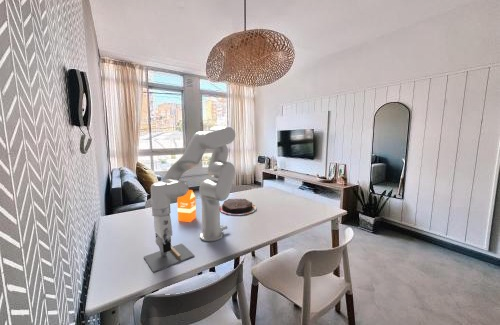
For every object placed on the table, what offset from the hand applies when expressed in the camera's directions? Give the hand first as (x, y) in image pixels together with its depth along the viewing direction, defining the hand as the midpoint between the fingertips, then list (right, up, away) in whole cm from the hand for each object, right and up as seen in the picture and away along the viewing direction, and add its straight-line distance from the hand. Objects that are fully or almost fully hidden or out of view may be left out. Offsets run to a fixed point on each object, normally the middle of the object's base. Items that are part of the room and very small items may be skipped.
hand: (163, 246), depth 97 cm
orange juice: (-2, +1, +44) cm, 45 cm away
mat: (+2, -5, +1) cm, 6 cm away
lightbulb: (0, -5, +1) cm, 5 cm away
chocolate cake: (+30, +3, +64) cm, 71 cm away
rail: (+4, -5, +4) cm, 7 cm away
